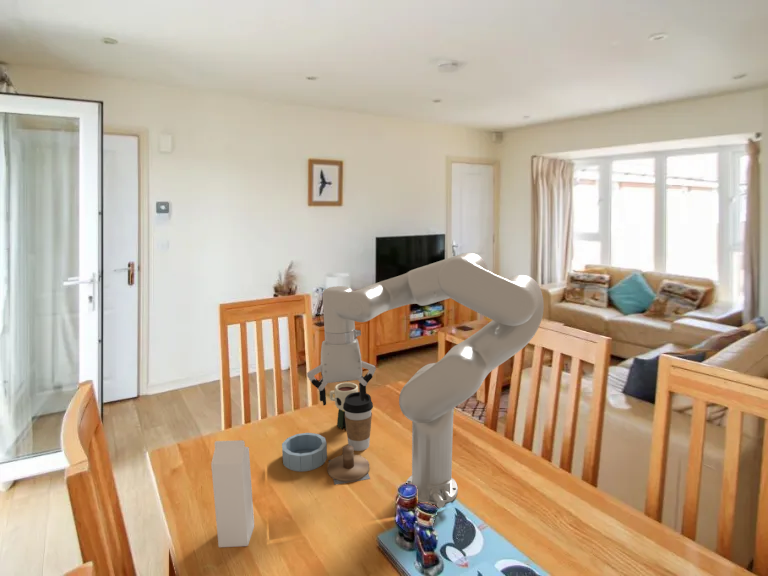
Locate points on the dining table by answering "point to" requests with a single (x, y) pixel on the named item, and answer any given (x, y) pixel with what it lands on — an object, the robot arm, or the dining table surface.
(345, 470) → the lid
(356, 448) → the coffee cup
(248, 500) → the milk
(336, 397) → the character mug
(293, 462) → the bowl
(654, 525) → the dining table surface
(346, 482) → the mat
